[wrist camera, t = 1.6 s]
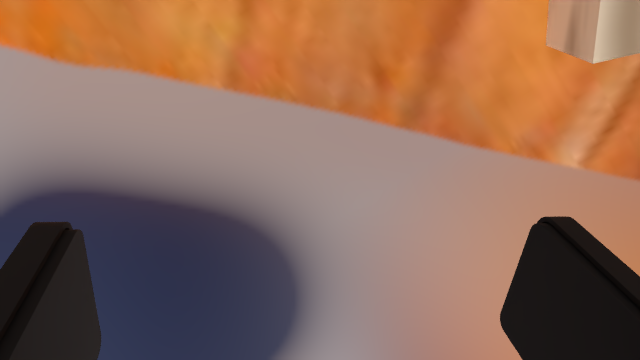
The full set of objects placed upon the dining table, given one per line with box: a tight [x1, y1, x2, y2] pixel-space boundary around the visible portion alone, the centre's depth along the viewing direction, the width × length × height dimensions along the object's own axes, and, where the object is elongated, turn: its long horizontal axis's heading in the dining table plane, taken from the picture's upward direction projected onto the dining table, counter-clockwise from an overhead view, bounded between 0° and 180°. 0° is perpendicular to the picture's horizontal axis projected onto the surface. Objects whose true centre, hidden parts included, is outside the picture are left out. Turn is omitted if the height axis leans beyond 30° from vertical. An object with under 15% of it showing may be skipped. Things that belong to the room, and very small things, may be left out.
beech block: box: [546, 0, 640, 64], centre depth 29 cm, size 5×5×5 cm
